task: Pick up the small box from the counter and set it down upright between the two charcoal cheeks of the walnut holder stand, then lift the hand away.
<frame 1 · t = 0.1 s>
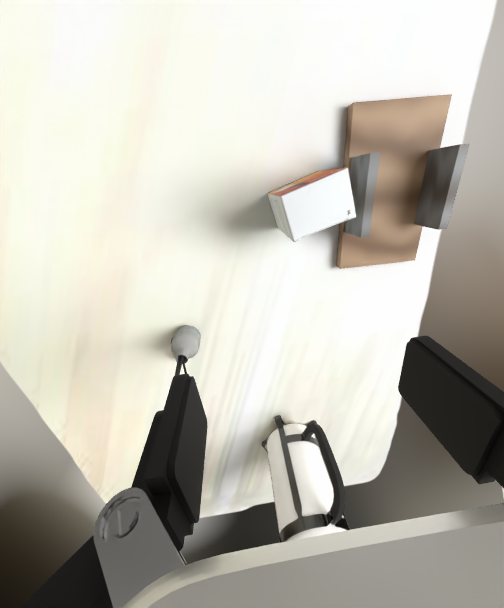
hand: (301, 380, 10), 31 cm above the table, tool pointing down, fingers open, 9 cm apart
reed diffuser: (193, 336, 46), on the table
small box: (296, 201, 37), on the table
holder stand: (382, 192, 37), on the table
coffee press: (289, 428, 60), on the table
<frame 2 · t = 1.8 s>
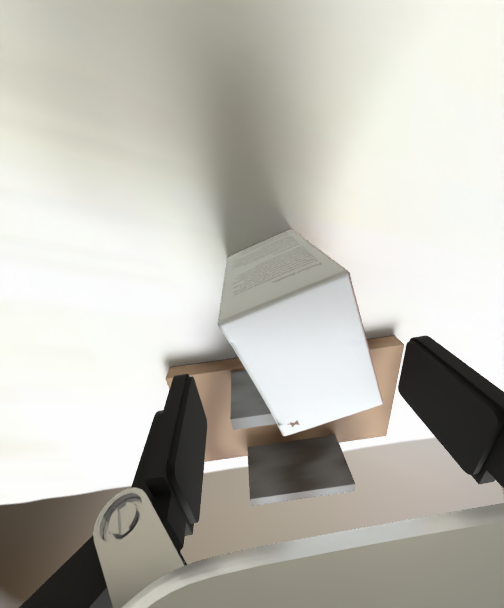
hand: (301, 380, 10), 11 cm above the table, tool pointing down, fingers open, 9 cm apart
small box: (275, 283, 20), on the table
holder stand: (286, 399, 26), on the table
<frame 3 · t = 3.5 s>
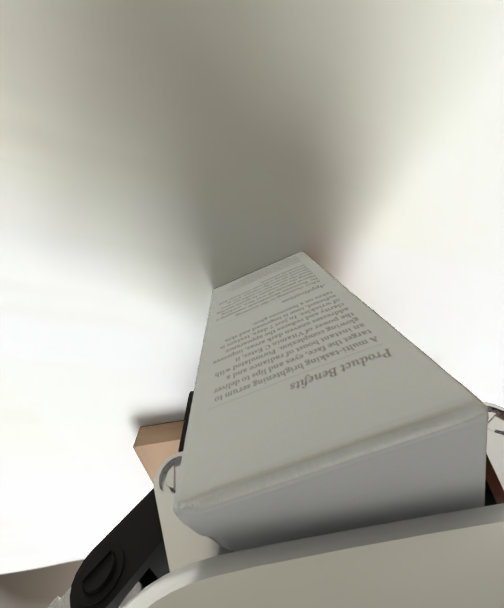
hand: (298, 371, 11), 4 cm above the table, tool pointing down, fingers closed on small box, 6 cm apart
small box: (279, 322, 15), on the table, touching gripper
holder stand: (291, 456, 21), on the table
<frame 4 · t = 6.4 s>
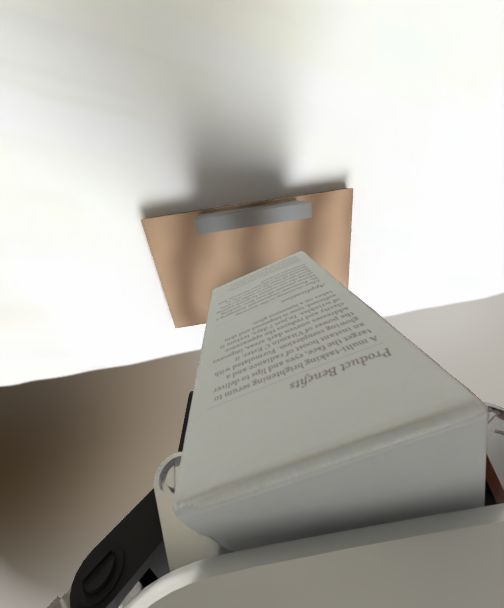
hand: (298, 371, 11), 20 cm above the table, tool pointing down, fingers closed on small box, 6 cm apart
small box: (279, 322, 15), point 15 cm above the table, touching gripper
holder stand: (254, 261, 29), on the table
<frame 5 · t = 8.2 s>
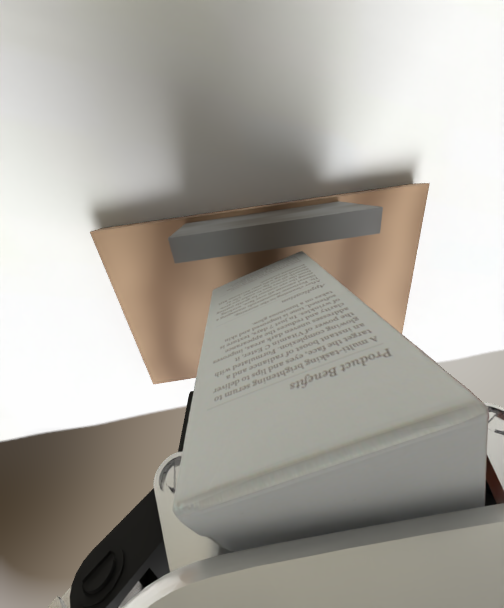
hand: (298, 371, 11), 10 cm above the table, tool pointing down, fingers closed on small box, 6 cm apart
small box: (279, 322, 15), point 5 cm above the table, touching gripper
holder stand: (268, 290, 20), on the table
when the fingers open (7 cm above the table, at t = 9.7 s): small box drops 1 cm, resting on holder stand.
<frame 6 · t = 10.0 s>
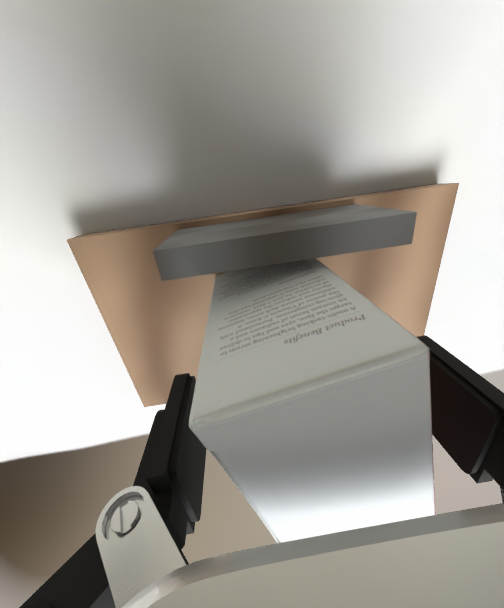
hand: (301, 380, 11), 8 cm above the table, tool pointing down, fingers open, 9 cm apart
small box: (274, 310, 16), point 1 cm above the table, touching holder stand
holder stand: (272, 303, 17), on the table
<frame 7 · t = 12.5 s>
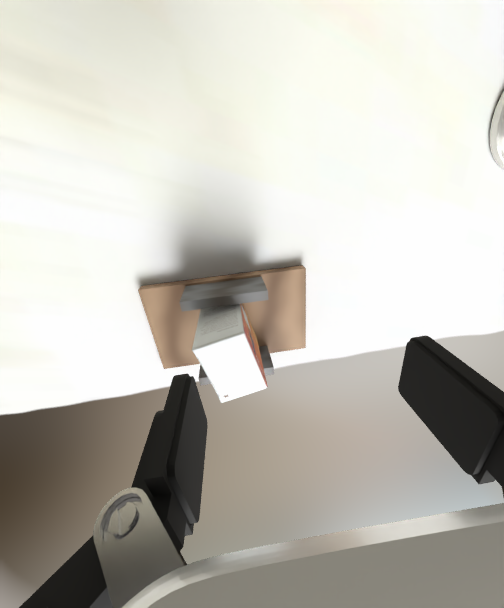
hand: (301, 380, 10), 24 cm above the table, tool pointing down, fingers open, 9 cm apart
small box: (229, 320, 34), point 1 cm above the table, touching holder stand
holder stand: (229, 316, 36), on the table
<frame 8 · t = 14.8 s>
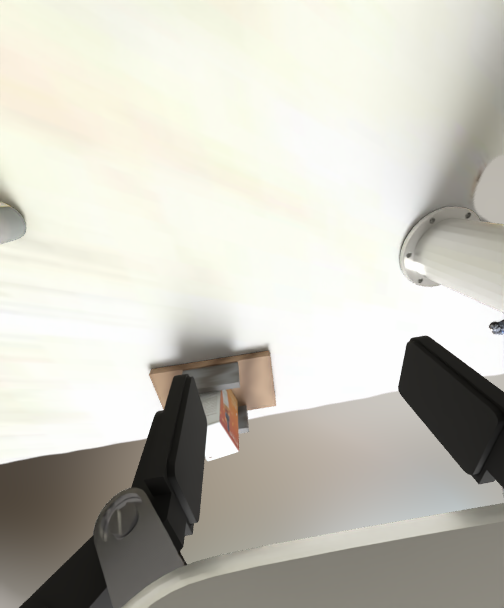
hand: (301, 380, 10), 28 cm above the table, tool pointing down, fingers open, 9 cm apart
blueberries: (500, 322, 48), on the table
reed diffuser: (7, 226, 32), on the table
small box: (216, 390, 46), point 1 cm above the table, touching holder stand
holder stand: (217, 385, 47), on the table
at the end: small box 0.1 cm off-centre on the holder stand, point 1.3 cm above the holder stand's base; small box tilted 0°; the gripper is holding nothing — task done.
